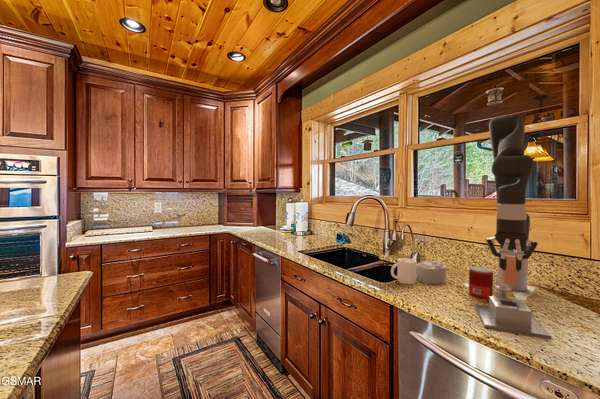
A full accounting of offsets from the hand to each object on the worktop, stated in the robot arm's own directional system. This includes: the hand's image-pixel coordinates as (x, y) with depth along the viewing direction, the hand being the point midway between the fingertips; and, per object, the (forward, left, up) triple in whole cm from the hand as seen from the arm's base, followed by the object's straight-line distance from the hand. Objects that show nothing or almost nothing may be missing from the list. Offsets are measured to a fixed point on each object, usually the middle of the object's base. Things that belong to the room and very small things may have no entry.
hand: (509, 269), depth 86 cm
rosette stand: (-1, 0, -17) cm, 17 cm away
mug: (-26, -34, -17) cm, 46 cm away
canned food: (-22, -4, -17) cm, 28 cm away
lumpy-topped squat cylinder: (-35, -21, -17) cm, 44 cm away
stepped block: (0, 0, -4) cm, 4 cm away
